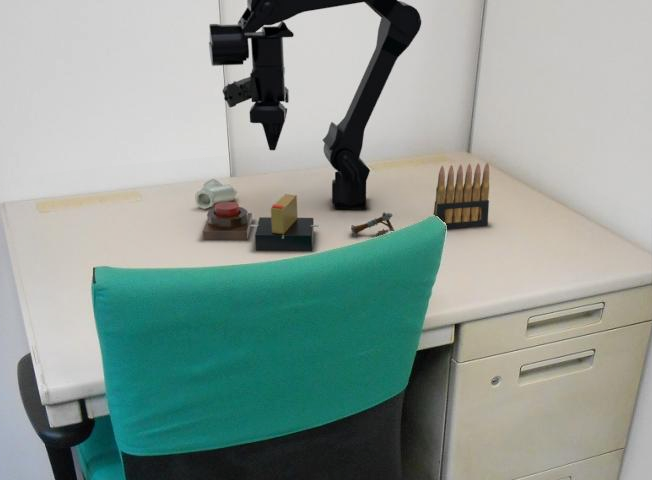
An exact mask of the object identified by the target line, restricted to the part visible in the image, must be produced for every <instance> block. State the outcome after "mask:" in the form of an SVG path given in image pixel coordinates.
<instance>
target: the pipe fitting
mask: <svg viewBox="0 0 652 480" xmlns="http://www.w3.org/2000/svg"><path fill="white" fill-rule="evenodd" d="M237 193H238V191H237V189H235V187H233V185H232V184H230V183H229V184H228V183H227V184H223V183H221V182H220V181H218V180H217V179H216V178H211V179H208V180H207V181H205V182H204V183H203V186H202V188H201V189H200V190H198V191H196V193H195V199H194V201H195V205H196V206H198V207H199V208H201V209H202V210H206V209H209V208H211V207H213V206H214V205H216V204H217V203H220V202H234V200H235V197H236V195H237Z"/></svg>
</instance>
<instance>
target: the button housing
mask: <svg viewBox="0 0 652 480" xmlns="http://www.w3.org/2000/svg"><path fill="white" fill-rule="evenodd" d="M206 218H207V219H206V222H205V225H204V228H203V230H202V237H203V241H248V239H249V235H250V232H251V228H252V226H251V225H253V213H252V212H248V210H247V209H246V208H244V207H241V206H239V215H237V216H233V217H219V216H216V215H215V207H213V208H211V209H209V210H208V211H207V213H206Z"/></svg>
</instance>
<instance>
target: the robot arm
mask: <svg viewBox="0 0 652 480" xmlns="http://www.w3.org/2000/svg"><path fill="white" fill-rule="evenodd" d="M246 3H247V7H246V8H245V10H244V12H243V14H242V15H241V17H239V20H238V22H237V24H219V23H210V24H209V25H208V26H209V27H208V28H209V41H208V48H209V57H210V63H211V66H212V67H219V66H222V67H223V66H243V65H244V61H246V62H247V60H248V59H250V50H251V65H252V66H251V67H252V69H251V72H250V73H249V76H247V77H245V78H242V79H239V80H237V81H236V80H234V81H233V82H231V83H227V85H225V86H224V87H223V89H222V94H223V96H224V97H223V99H224V101H225V102H226V103H227V105H228V107H229V108H233V107H236V106H237V105H239V104H240V103H244V102H246V101H248V100H251V103H253V104H252V105H251V107H250V110H249V123H251V124H261V125H262V128H263V132H264V136H265V138H266V142H267V146H268V150H269V151H276V149H277V146H278V143H279V140H280V137H281V134H282V131H283V128H284V124H285V122H286V119H287V113H288V108H286V106H285V105H284V104H283V103H286V104H288V103H290V92H289V89H288V88H287V87H286V86H285V85H286V84H285V74H286V73H285V72H286V67H285V62H284V61H285V60H284V40H283V39H284V38H293V37H294V36H295V34H294V32H293V31H292V30H291V29H289V27H288V26H287V24H286V22H285V21H286V20H289V19H291V18H293V17H295V16H297V15H299V14H302V13H305V12H312V11H317V10H323V9H330V8H335V7H336V8H337V7H342V6H348V5H354V4H361V3H365V5H367V6H368V7H369V9H371V10H372V11H373V12H374V13H375V14H377V16H379V17H380V21H379V25H378V30H377V37H376V45H375V49H374V51H373V53H372V56H371V58H370V60H369V62H368V65H367V66H366V69H365V71H364V73H363V75H362V77H361V80H360V83H359V85H358V87H357V89H356V91H355V93H354V95H353V98H352V100H351V102H350V104H349V106H348V109H347V110H346V113H345V116H344V117H343V119H342V120H341V121H340V122H339V123H338V124H336V123H335V122H333V121H331V122H330V124H329V127H328V131H327V134H325V137H324V138H323V139H322V142H323V143H324V144H323V154H324V157H325V158H326V159H327V161H328V162H329V164H330V165H331V166H332V168H333V169H334V170H336V171H334V179H332V180H331V203H332V204H333V205H334V210H367V209H368V204H367V180H368V177H369V175H370V172H371V170H370V168H369V166H367V164H366V163H365V161H363V160H362V158H361V153H362V150H363V145H364V136H365V130H366V127H367V125H368V123H369V121H370V118H371V116H372V114H373V112H374V110H375V108H376V105H377V103H378V101H379V100H380V99H379V98H380V97H381V94H382V92H383V91H384V88H385V85H386V83H387V82H388V80H389V77H390V75H391V73H392V70H393V68H394V67H395V64H396V61H398V59H399V57H401V55H402V54H403V53H404V52H405V51H406V50H407V49H408V48H409V46H410V45H411V43H412V42H413V41H414V39H415V38H416V36H417V35H418V33H419V31H420V29H421V27H422V17H421V13H420V12H419V11H418V9H417V8H416V7H414V6H413V5H410V4H409V3H406V2H404V1H401V0H246ZM278 23H279V24H278ZM276 24H277V25H276ZM274 25H276V26H274ZM259 30H261V31H259ZM249 39H250V45H251V49H250V46H249ZM281 102H283V103H281Z"/></svg>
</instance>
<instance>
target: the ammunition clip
mask: <svg viewBox="0 0 652 480" xmlns="http://www.w3.org/2000/svg"><path fill="white" fill-rule="evenodd" d="M445 173H446V172H445V168H444V165H441V167H440V168H439V172H438V177H437V184H436V191H435V200H434V208H433V215H435V216H438V217H439V218H440V219H441V220H442V221H443V222H445V223H446V225H447V229H446V230H456V229H468V228H469V229H470V228H480V227H481V228H483V227H488V225H489V207H490V200H489V195H490V166H489V163H488V162H486V164H484V167H483V173H481V164H480V163H477V164H476V166H475V170H474V173H473V171H472V165H471V163H469V164H468V165H467V167H466V170H465V177H464V171H463V166H462V164H459V166H458V168H457V172H456V179H455V171H454V167H453V165H452V164H450V166H449V168H448V172H447V178H446V174H445ZM481 174H482V179H481ZM473 176H474V177H473Z"/></svg>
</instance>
